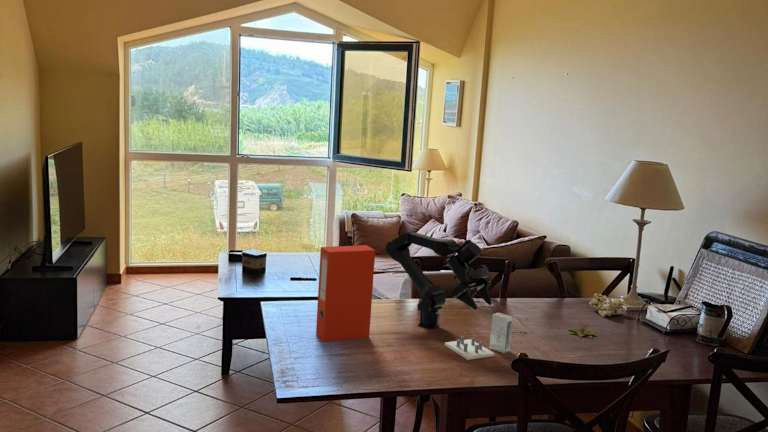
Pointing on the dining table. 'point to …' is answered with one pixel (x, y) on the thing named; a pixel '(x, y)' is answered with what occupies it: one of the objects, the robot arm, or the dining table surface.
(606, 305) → the mineral formation
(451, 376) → the dining table surface
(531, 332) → the dining table surface
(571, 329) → the olive green spiky piece
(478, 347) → the white pegged base
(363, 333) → the file binder
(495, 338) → the block
